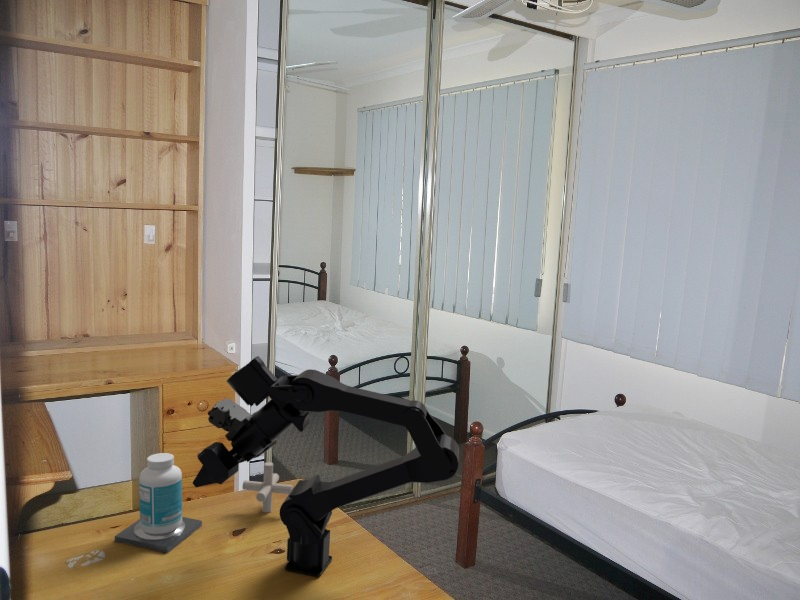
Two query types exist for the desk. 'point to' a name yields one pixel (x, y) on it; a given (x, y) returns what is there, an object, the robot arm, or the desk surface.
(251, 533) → the desk surface
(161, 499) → the pill bottle
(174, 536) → the flange plate
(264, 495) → the pipe connector
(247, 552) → the desk surface
